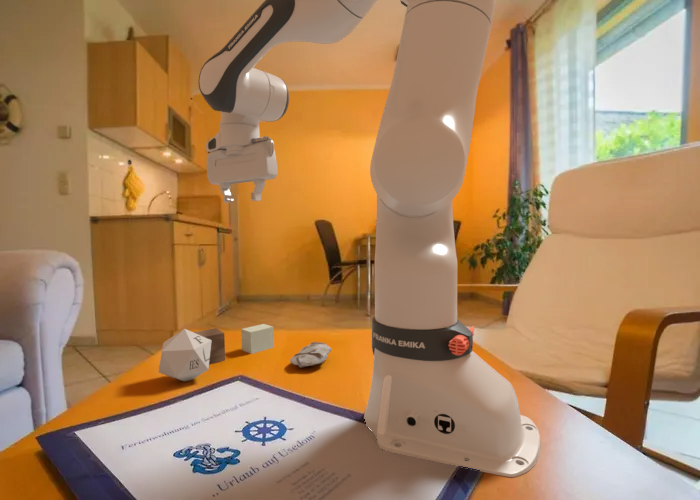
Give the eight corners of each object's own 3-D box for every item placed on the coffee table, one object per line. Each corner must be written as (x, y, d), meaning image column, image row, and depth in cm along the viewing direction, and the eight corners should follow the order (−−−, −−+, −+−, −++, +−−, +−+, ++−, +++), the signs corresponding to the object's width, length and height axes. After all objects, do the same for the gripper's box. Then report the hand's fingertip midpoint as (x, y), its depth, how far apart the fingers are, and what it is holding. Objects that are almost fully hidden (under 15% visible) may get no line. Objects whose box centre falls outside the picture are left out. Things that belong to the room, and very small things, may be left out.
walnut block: (224, 333, 77) (225, 360, 77) (216, 328, 80) (217, 354, 81) (199, 337, 73) (200, 366, 74) (192, 332, 77) (193, 360, 78)
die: (194, 395, 61) (192, 336, 60) (148, 391, 63) (145, 334, 62) (221, 375, 69) (220, 323, 69) (180, 372, 71) (178, 321, 70)
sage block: (273, 347, 85) (273, 326, 85) (251, 354, 81) (250, 332, 81) (264, 344, 88) (263, 323, 88) (242, 350, 84) (241, 329, 83)
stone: (322, 372, 70) (321, 359, 69) (286, 370, 71) (285, 357, 71) (333, 352, 79) (333, 340, 79) (301, 351, 80) (301, 339, 80)
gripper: (283, 137, 81) (284, 200, 82) (223, 149, 92) (225, 204, 93) (262, 131, 75) (263, 198, 76) (201, 144, 87) (203, 203, 87)
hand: (242, 201), depth 85 cm, fingers open, 8 cm apart
